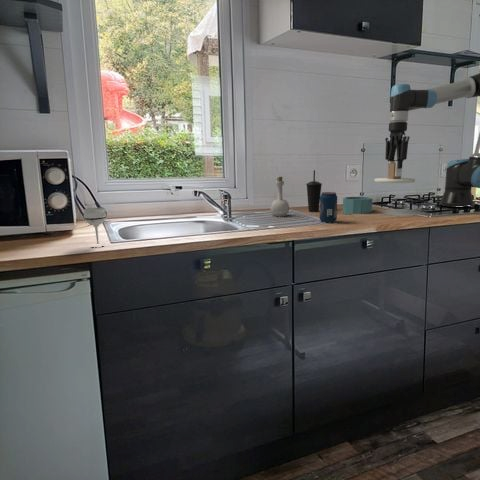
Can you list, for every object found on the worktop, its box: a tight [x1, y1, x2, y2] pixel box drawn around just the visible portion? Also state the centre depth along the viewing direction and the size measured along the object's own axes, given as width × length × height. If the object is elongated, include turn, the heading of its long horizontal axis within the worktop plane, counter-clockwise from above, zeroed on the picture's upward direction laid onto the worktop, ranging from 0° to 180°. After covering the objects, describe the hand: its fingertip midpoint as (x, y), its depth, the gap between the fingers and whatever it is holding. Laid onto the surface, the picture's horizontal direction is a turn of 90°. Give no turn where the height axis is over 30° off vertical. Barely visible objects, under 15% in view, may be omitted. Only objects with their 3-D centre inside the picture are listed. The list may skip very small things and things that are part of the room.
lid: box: [373, 162, 416, 184], centre depth 174 cm, size 17×17×8 cm
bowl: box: [342, 196, 373, 216], centre depth 181 cm, size 13×13×7 cm
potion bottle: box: [270, 176, 290, 217], centre depth 178 cm, size 9×9×18 cm
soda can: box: [319, 191, 338, 223], centre depth 159 cm, size 7×7×12 cm
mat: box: [374, 208, 433, 217], centre depth 177 cm, size 18×18×1 cm
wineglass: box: [83, 207, 107, 244], centre depth 123 cm, size 7×7×12 cm
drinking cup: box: [305, 170, 323, 213], centre depth 188 cm, size 8×8×20 cm
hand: (394, 175), depth 174 cm, fingers closed on lid, 4 cm apart
